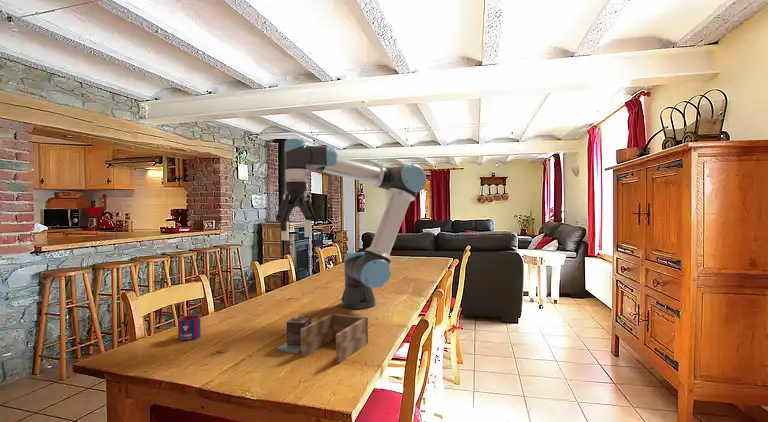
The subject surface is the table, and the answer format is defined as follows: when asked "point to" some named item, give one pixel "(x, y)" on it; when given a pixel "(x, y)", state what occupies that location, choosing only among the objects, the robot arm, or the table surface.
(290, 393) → the table surface
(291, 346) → the slate
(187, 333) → the mug
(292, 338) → the box
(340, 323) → the open wooden cubby
